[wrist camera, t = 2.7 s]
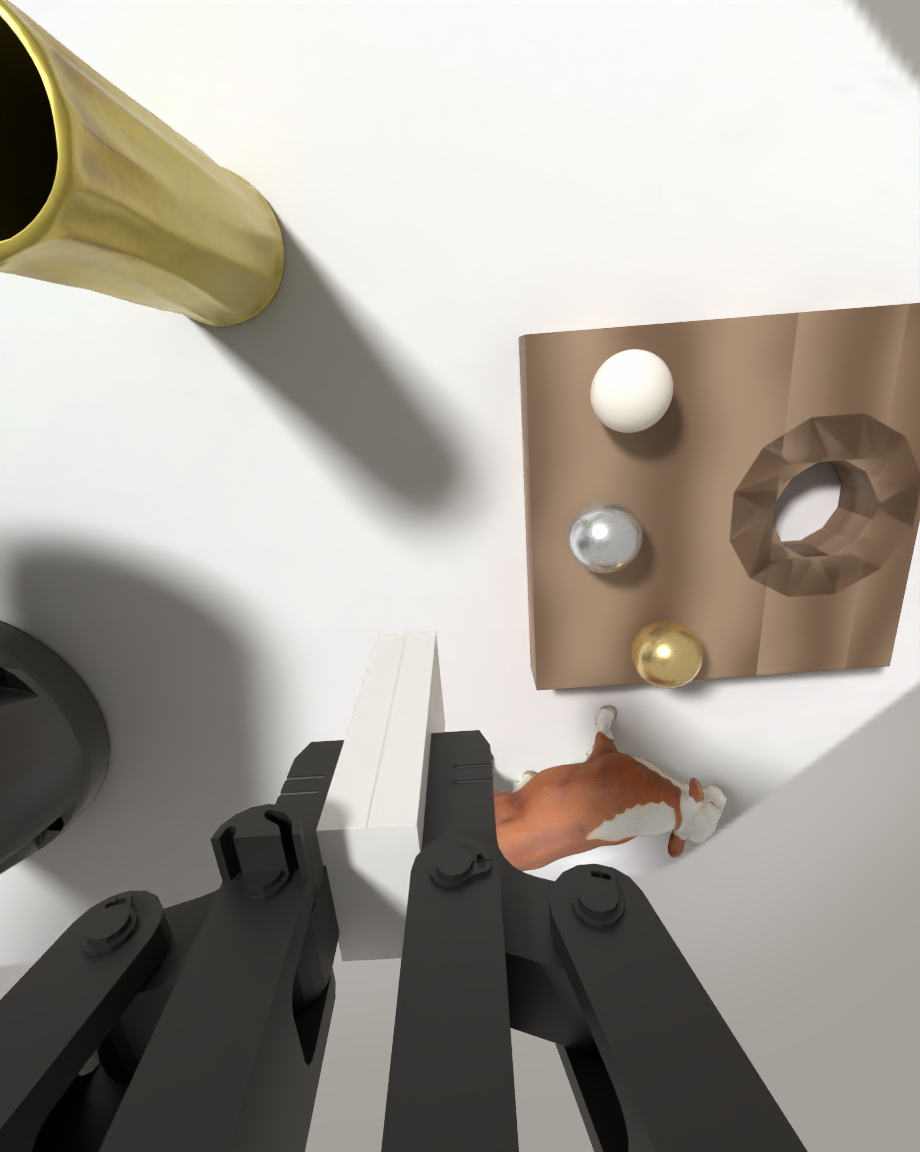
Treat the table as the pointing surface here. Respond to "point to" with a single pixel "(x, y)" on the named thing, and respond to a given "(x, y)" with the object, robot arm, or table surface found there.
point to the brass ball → (667, 654)
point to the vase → (120, 193)
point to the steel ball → (604, 536)
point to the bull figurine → (600, 806)
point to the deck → (727, 493)
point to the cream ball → (631, 391)
